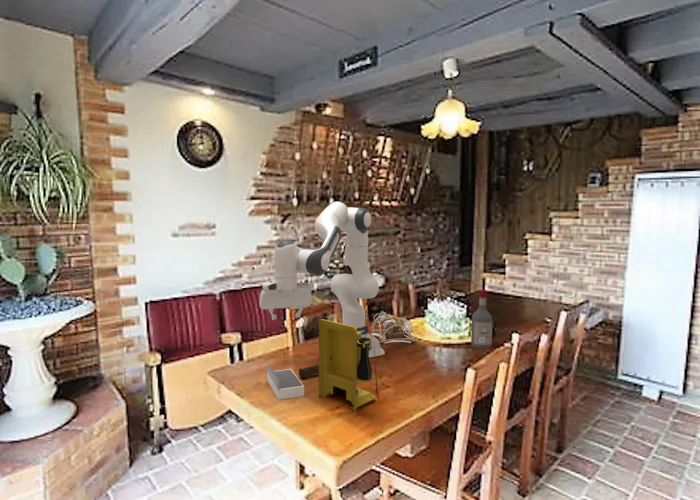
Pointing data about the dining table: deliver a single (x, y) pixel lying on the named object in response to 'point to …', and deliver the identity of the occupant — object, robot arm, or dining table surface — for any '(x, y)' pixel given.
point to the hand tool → (308, 371)
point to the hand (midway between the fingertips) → (286, 318)
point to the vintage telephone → (344, 362)
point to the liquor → (482, 324)
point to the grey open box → (284, 383)
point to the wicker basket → (392, 328)
